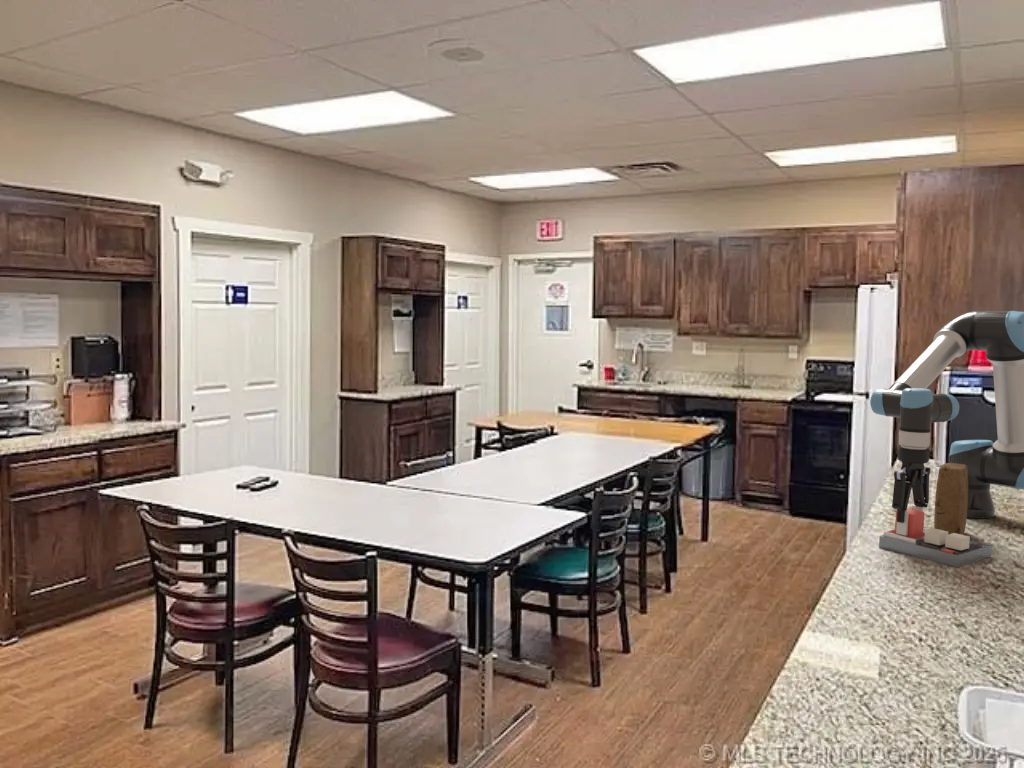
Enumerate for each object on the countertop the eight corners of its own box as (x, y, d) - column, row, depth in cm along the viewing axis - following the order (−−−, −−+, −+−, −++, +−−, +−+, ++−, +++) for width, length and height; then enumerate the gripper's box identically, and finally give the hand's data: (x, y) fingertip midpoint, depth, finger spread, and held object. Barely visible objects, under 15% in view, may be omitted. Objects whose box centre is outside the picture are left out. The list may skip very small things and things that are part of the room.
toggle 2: (953, 544, 219) (954, 532, 218) (969, 548, 215) (969, 536, 215) (945, 546, 216) (945, 535, 216) (960, 550, 213) (961, 538, 213)
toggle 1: (932, 539, 223) (933, 528, 223) (947, 543, 220) (948, 531, 220) (924, 541, 221) (924, 530, 221) (939, 545, 218) (940, 533, 217)
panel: (913, 537, 238) (914, 523, 237) (991, 556, 220) (992, 540, 220) (878, 547, 228) (879, 531, 228) (957, 567, 211) (958, 550, 210)
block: (960, 539, 236) (964, 468, 234) (931, 534, 241) (935, 465, 239) (968, 531, 245) (972, 463, 243) (940, 527, 249) (944, 460, 247)
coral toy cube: (905, 533, 230) (906, 508, 229) (922, 538, 226) (924, 512, 225) (894, 536, 227) (896, 510, 227) (912, 540, 223) (913, 514, 223)
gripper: (920, 441, 233) (915, 524, 235) (879, 447, 222) (875, 534, 224) (947, 445, 227) (942, 530, 229) (907, 452, 216) (902, 541, 218)
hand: (909, 532), depth 227 cm, fingers open, 6 cm apart
